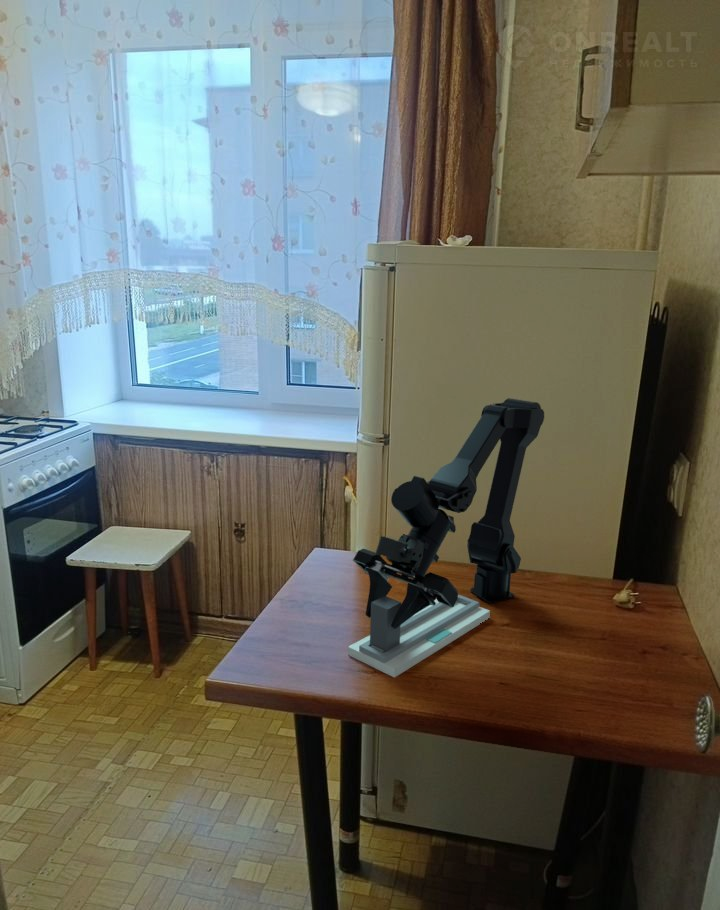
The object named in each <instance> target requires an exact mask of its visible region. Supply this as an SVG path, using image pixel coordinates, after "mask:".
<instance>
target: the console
mask: <svg viewBox="0 0 720 910" xmlns="http://www.w3.org/2000/svg"><path fill="white" fill-rule="evenodd" d="M434 601H435V602H436V604H435V605H434V606H433V605H429V606H427V607H426V608H424V609H423V610H421V611H419V612H418V613H416V614H415V615H413V616H412V617H411V618H409V619H408V620H407V621H405V622H404V623H403V624H401V625H400V644H399V645H397V646H395V647H393V648H392V649H390V650H388V651H387V652H385V653H382V652H380V651H378V650H376V649H374V648H372V647H371V644H370V634H369V635H367V636H366V637H363V638H362V639H359V640H358V641H356V642H354V643H352V644H350V645H349V646H347V656H350V657H352V658H353V659H355V660H358V661H359V662H361V663H364V664H366V665H368V666H370V667H372V668H373V669H376V670H378V671H380V672H382V673H384V674H386V675H388V676H391V677H392V678H394V679H395V678H396V677H398V676H399V675H401V674H403V673H404V672H405V671H407V670H409V669H410V668H412V667H413V666H415V665H418V663H420V662H421V661H423V660H425V659H426V658H428V657H430V656H431V655H433V654H435V653H436V652H438V651H439V650H441V649H443V648H445V647H446V646H447V645H449V644H451V643H452V642H453V641H455V640H457V639H458V638H461V637H462V636H464V635H466V633H468V632H469V631H471V630H472V629H474V628H476V627H478V626H479V625H481V624H483V623H484V622H485V620H486V621H487V620H488V618H489V619H490V615H491V610H489V609H486V608H484V607H480V601H476V600H474V599H471V598H469V597H466V596H464V595H461V594H458V599H457V601H456V603H455V605H454V607H449V606H447V605H444V604H442V603H439V602H438V601H437V598H435V600H434ZM482 622H483V623H482ZM480 623H481V624H480Z"/></svg>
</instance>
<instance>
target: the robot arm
mask: <svg viewBox="0 0 720 910" xmlns="http://www.w3.org/2000/svg"><path fill="white" fill-rule="evenodd" d="M480 416H481V417H480V419H478V421H477V423H476V424H475V426H474V427H473V429H472V431H471V432H470V434H469V436H467V439H466V440H465V442H464V444H463V445H462V446H461V448H460V449H459V451H458V452H457V455H456V456H455V457H454V459H453V460H452V461H451V462H449V463H447V464H446V465H443V466H441V467H440V468H439V469H437V472H435V474H434V475H433V476H432V477H431V479H429V481H426V479H425V477H422V476H421V477H420V476H417V475H414V476H413V477H412V479H411V481H410V480H409V481H406V482H404V483H402V484H400V485H398V487H397V488H395V489H394V490H393V492H392V495H391V504H392V506H393V508H394V509H395V510H396V511H397V512H398V513H399V514H400V516H401V518H403V520H405V522H406V523H407V525H409V526H410V527H411V529H410V531H409V532H408V533H407V534H404V533H403V534H402V535H400V536H399V539H395V538H392V537H389V536H385V535H380V538H379V540H378V544H377V546H376V547H377V548H376V551H375V552H374V551H372V550H368V549H366V548H361V549H359V550H357V552H356V553H355V555H354V557H353V559H352V561H353V562H354V563H355V565H357V566H358V567H359V568H360V569H361V570H362V571H363V572H364V574H366V575H368V578H369V591H368V597H367V603H366V608H365V609H366V610H365V616H366V617H367V618H368V619H371V602H373V601H375V600H377V599H379V598H381V597H383V596H388V595H389V593H390V591H391V589H392V588H393V586H392V585H391V584H390V582H388V581H389V580H390V579H389V578H390V577H391V578H393V579H396V580H398V581H401V582H404V583H406V584H407V588H406V593H405V594H406V595H405V597H404V599H403V601H401V606H400V608H399V610H398V611H397V613H396V615H395V617H394V619H393V622H392V624H391V627H392V628H394V629H396V628H397V627H399V626H400V625H401V624H403V623H404V622H405V621H407V620H408V619H409V618H411V617H412V616H413V615H415V614H416V613H418V612H419V611H421V610H423V609H424V608H426V607H427V606H429V605H433V606H434V605H435V604H436V602H435V601H434V600H436V599H437V601H438V602H439V603H442V604H444V605H447V606H449V607H454V605H455V603H456V601H457V599H458V595H459V592H458V589H457V588H456V587H455V586H454V585H453V583H452V582H451V581H450V580H449V579H448V578H447V577H445V576H442V575H439V574H436V573H433V572H431V571H430V572H428V571H429V568H430V567H431V565H432V562H435V563H437V562H438V560H439V559H440V557H439V555H438V554H437V553H438V552H439V549H440V547H441V546H442V543H444V540H445V538H446V536H447V534H448V532H449V533H456V530H457V529H456V528H457V527H456V524H455V517H454V516H452V515H449V514H447V513H446V512H445V510H447V511H450V512H454V513H458V514H460V513H465V512H467V510H468V508H469V507H470V506H471V505H472V503H473V500H474V497H475V495H476V493H477V489H478V488H477V478H478V477H479V473H480V472H481V470H482V468H483V467H484V466H485V464H486V463H487V461H488V459H489V458H490V456H491V454H492V452H493V450H494V449H495V447H496V446H497V444H498V443H499V441H500V446H499V451H498V455H497V459H496V464H495V469H494V472H493V477H492V481H491V486H490V489H489V494H488V498H487V503H486V507H485V512H484V515H483V516H482V517H481V518H480V519H479V520H478V521H474V522H473V523H472V524H471V526H470V532H469V533H470V534H469V536H468V539H467V547H466V548H467V553H468V557H469V563H470V564H474V565H476V573H475V574H474V582H473V587H471V588H470V589H469V590H470V592H471V593H472V594H474V595H475V596H477V597H479V598H480V599H482V600H484V601H485V602H487V603H488V604H493V603H496V602H497V603H498V602H501V600H502V601H506V600H509V599H508V598H510V599H513V597H514V598H515V593H513V592H511V591H510V588H511V579H512V574H517V573H518V572H517V571H518V569H519V567H520V566H521V565H520V564H521V561H522V558H521V556H520V554H519V553H518V551H517V550H516V549H515V547H514V543H515V537H516V536H515V532H514V530H513V526H512V523H511V516H512V512H513V506H514V503H515V498H516V494H517V490H518V486H519V481H520V477H521V473H522V468H523V463H524V460H525V455H526V450H527V448H528V447H529V446H530V445H531V444H532V443H533V442H534V441H535V439H537V437H538V436H539V432H540V429H541V426H542V425H543V423H544V420H545V411H544V409H542V407H541V404H540V403H539V402H536V401H530V400H522V399H517V398H506V399H505V400H504V401H503V402H494V403H492V404H487V405H485V406H484V407H483V408H482V411H481V415H480ZM382 556H383V557H385V559H386V560H387V561H388V562H390V563H391V564H390V563H388V562H387V561H386V560H385V559H384V558H383V557H382ZM427 572H428V573H427ZM505 599H506V600H505Z"/></svg>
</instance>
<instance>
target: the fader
mask: <svg viewBox="0 0 720 910" xmlns="http://www.w3.org/2000/svg"><path fill="white" fill-rule="evenodd" d="M401 604H402V601H399V600H396V599H394V598H392V597H389V596H388V595H386V596H383V597H381V598H379V599H377V600H375V601H373V602H371V617H370V621H369V622H370V628H369V629H370V630H369V633H370V634H369V635H370V644H371V647H372V648H374V649H376V650H378V651H380V652H382V653H385V652H387V651H388V650H390V649H392V648H393V647H395V646H397V645H399V644H400V626H399V627H397V628H396V629H394V628H392V627H391V624H392V622H393V619H394V617H395V615H396V613H397V611H398V610H399V608H400V606H401Z"/></svg>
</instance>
